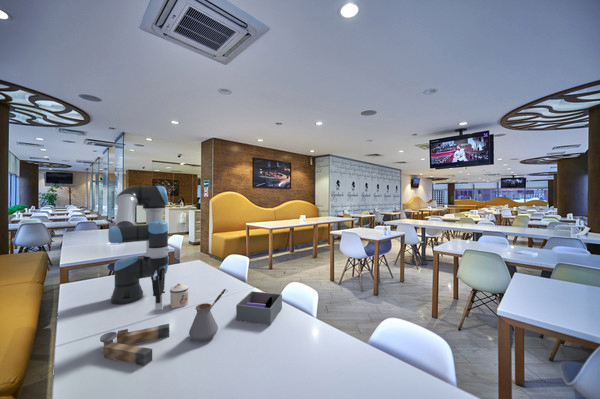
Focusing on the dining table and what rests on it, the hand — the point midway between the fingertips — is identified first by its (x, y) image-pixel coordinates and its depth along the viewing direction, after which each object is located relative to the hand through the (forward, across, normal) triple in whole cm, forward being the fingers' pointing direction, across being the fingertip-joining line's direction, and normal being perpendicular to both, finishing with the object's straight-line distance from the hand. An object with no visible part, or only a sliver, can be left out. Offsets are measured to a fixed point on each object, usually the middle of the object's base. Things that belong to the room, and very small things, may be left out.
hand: (159, 309), depth 111 cm
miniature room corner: (+9, +5, -45) cm, 46 cm away
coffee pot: (+9, -7, -23) cm, 25 cm away
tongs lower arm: (+9, -18, +6) cm, 21 cm away
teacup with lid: (+9, +26, -4) cm, 27 cm away
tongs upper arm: (+9, -10, +6) cm, 14 cm away
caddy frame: (+9, +3, -45) cm, 46 cm away
